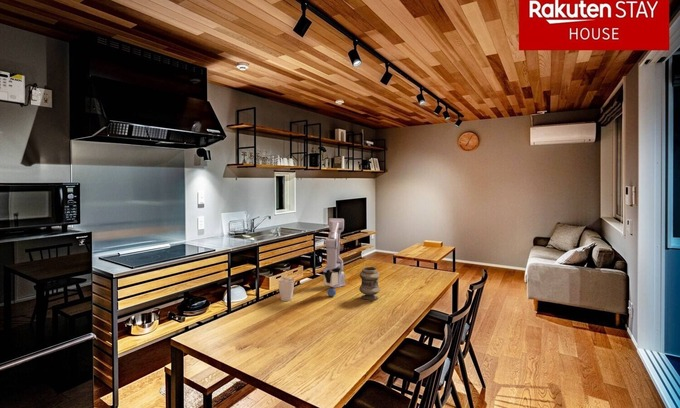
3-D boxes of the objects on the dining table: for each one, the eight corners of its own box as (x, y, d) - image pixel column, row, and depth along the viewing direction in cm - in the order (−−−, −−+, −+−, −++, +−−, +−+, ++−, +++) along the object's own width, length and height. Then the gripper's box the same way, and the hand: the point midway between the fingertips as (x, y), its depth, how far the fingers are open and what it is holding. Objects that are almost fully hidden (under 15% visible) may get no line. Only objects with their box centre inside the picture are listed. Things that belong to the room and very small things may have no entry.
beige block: (330, 282, 213) (329, 270, 212) (337, 283, 209) (337, 272, 209) (323, 284, 208) (323, 273, 207) (331, 286, 204) (331, 274, 204)
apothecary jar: (355, 299, 203) (356, 269, 201) (364, 293, 213) (364, 264, 212) (375, 303, 197) (375, 272, 196) (382, 296, 208) (383, 267, 206)
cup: (291, 302, 198) (291, 281, 197) (276, 301, 200) (276, 280, 199) (296, 297, 207) (296, 277, 206) (281, 295, 208) (281, 276, 207)
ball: (337, 289, 207) (337, 296, 208) (333, 285, 211) (332, 293, 212) (330, 290, 204) (330, 298, 205) (326, 287, 208) (325, 294, 209)
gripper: (333, 255, 215) (333, 277, 216) (318, 260, 204) (318, 283, 205) (343, 257, 211) (342, 279, 212) (328, 262, 199) (328, 285, 200)
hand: (331, 281), depth 208 cm, fingers closed on beige block, 6 cm apart
